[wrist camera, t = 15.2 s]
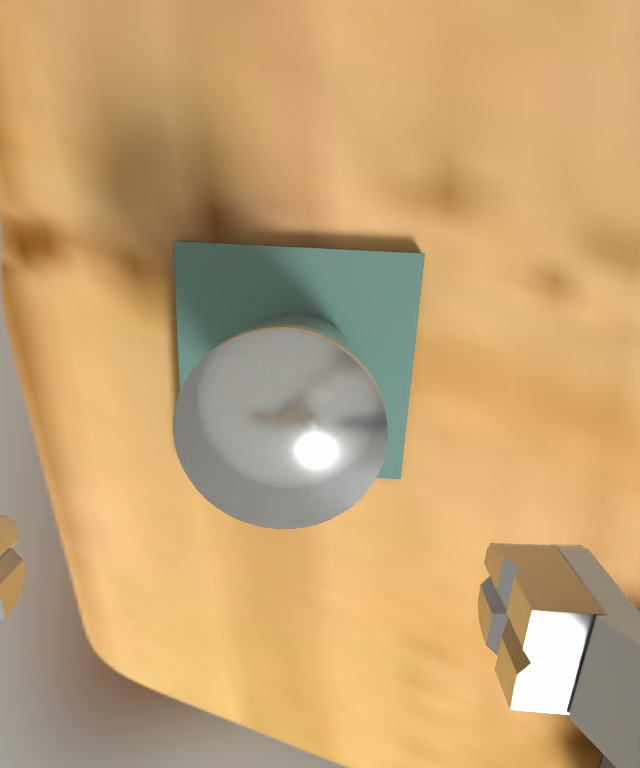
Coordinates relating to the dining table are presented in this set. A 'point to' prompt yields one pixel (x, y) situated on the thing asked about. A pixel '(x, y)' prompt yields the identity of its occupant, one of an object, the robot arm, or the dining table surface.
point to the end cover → (281, 424)
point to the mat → (307, 308)
